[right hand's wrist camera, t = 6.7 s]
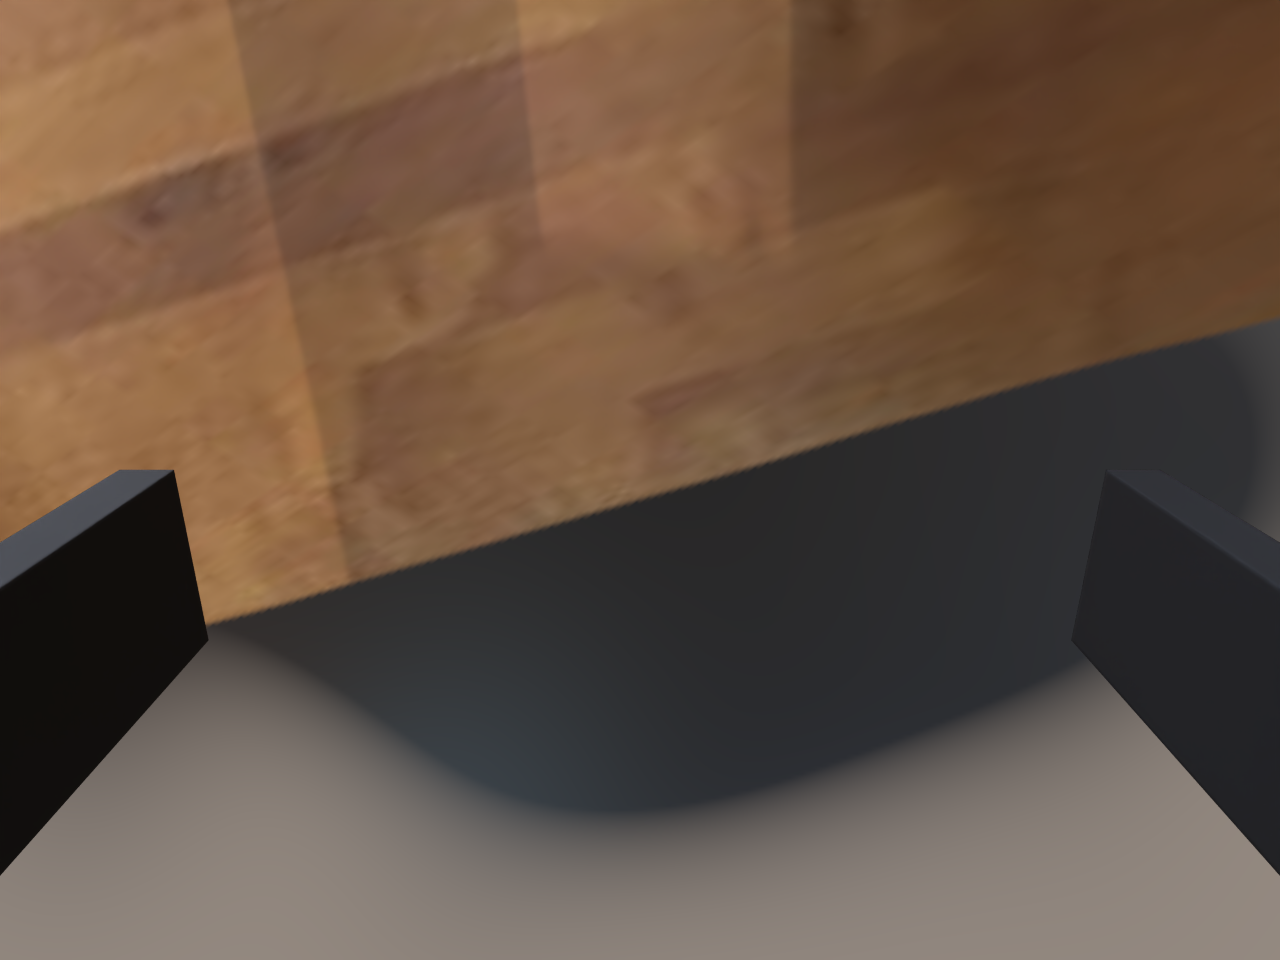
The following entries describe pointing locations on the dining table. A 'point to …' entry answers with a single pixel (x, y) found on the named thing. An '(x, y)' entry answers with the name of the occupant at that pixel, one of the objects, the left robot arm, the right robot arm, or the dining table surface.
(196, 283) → the dining table surface
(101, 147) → the dining table surface
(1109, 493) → the right robot arm
